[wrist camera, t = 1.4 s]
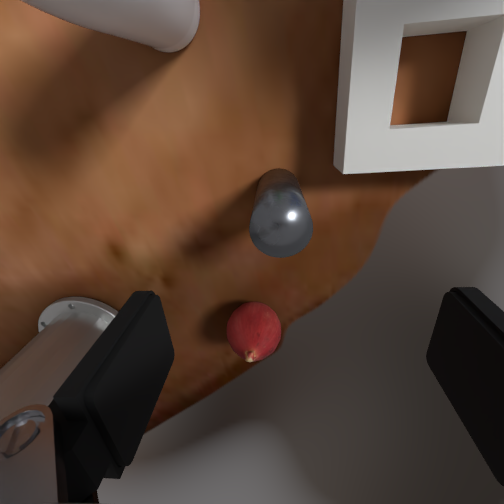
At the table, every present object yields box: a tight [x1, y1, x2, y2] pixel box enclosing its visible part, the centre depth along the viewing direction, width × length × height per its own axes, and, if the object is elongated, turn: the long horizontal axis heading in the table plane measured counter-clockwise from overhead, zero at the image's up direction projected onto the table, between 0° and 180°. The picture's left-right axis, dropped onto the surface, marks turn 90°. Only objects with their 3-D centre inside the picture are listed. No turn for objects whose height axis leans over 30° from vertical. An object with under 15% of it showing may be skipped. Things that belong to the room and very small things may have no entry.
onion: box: [227, 302, 281, 362], centre depth 29 cm, size 6×6×8 cm
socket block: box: [333, 0, 504, 174], centre depth 20 cm, size 12×12×4 cm
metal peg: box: [249, 168, 313, 258], centre depth 22 cm, size 4×4×10 cm
